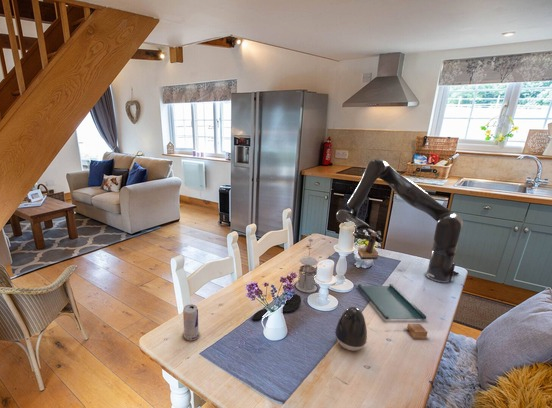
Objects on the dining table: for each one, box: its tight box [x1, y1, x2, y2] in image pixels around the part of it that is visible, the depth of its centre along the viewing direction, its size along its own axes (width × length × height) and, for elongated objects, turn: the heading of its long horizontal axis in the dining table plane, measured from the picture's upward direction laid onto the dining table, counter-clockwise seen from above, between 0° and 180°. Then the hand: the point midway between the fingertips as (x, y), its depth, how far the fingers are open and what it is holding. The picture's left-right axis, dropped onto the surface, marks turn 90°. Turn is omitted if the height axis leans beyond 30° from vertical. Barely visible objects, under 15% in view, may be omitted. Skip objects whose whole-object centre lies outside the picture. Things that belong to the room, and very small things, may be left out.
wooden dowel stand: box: [357, 233, 380, 260], centre depth 148 cm, size 5×8×13 cm, turn 90°
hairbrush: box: [252, 292, 302, 322], centre depth 129 cm, size 8×4×25 cm
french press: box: [295, 237, 319, 294], centre depth 142 cm, size 10×12×25 cm
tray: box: [357, 283, 427, 320], centre depth 133 cm, size 24×16×2 cm, turn 0°
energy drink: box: [182, 304, 199, 342], centre depth 113 cm, size 5×5×12 cm
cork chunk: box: [406, 323, 428, 340], centre depth 114 cm, size 4×4×3 cm
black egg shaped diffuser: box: [334, 306, 368, 352], centre depth 108 cm, size 10×10×15 cm
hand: (376, 241), depth 143 cm, fingers closed on wooden dowel stand, 3 cm apart
